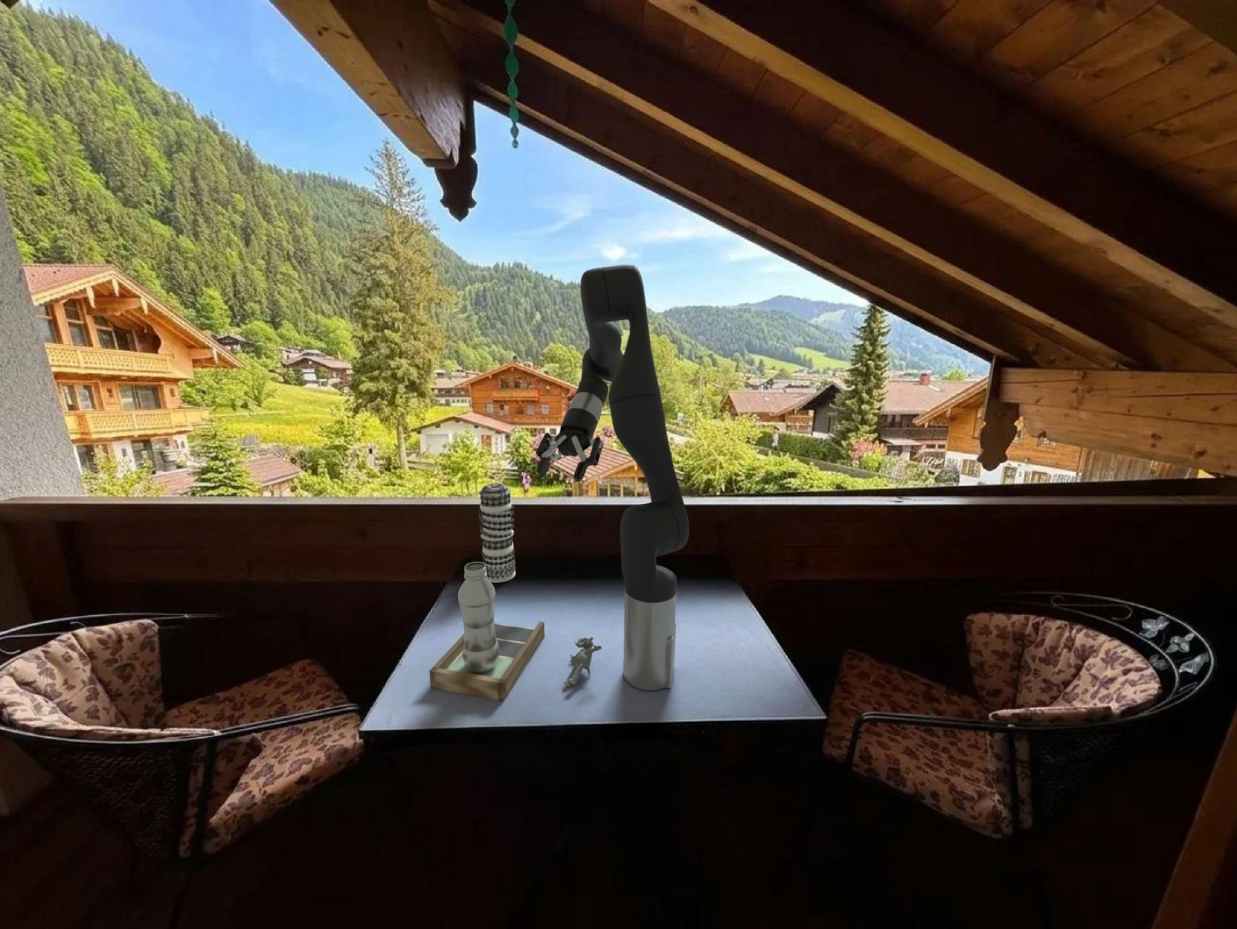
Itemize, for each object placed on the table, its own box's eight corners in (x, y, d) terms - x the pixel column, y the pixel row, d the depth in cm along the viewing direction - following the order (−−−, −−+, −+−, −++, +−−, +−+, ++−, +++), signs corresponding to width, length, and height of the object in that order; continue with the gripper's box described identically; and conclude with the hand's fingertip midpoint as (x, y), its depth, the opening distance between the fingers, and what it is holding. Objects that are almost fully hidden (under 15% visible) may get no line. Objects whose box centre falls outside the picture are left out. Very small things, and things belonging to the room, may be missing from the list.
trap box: (544, 636, 97) (544, 621, 96) (503, 701, 78) (502, 683, 78) (483, 628, 99) (482, 613, 99) (430, 687, 81) (429, 670, 81)
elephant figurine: (543, 679, 84) (566, 638, 91) (567, 699, 85) (588, 657, 92) (572, 668, 78) (594, 625, 85) (597, 690, 79) (617, 646, 85)
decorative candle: (512, 583, 119) (508, 491, 113) (477, 583, 119) (471, 490, 113) (520, 567, 128) (517, 481, 122) (487, 567, 128) (482, 480, 122)
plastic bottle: (479, 683, 80) (472, 578, 76) (455, 668, 84) (447, 567, 80) (507, 663, 86) (502, 564, 81) (483, 650, 89) (477, 555, 85)
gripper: (549, 405, 104) (522, 464, 96) (606, 408, 99) (582, 471, 91) (561, 425, 110) (536, 482, 102) (615, 429, 105) (594, 490, 97)
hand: (558, 477), depth 97 cm, fingers open, 8 cm apart
